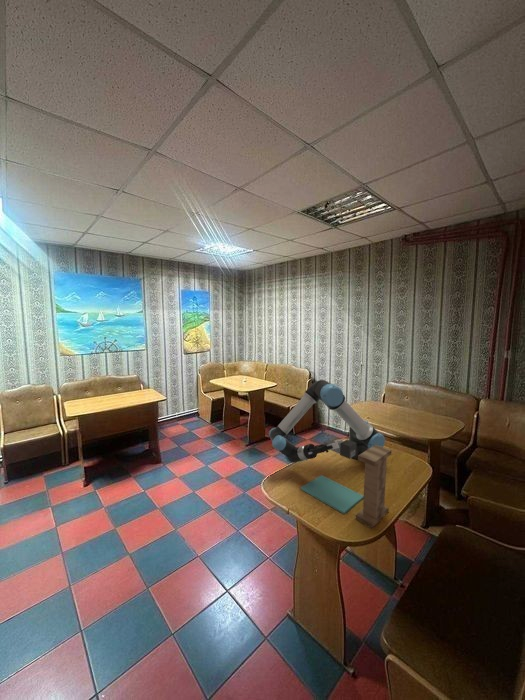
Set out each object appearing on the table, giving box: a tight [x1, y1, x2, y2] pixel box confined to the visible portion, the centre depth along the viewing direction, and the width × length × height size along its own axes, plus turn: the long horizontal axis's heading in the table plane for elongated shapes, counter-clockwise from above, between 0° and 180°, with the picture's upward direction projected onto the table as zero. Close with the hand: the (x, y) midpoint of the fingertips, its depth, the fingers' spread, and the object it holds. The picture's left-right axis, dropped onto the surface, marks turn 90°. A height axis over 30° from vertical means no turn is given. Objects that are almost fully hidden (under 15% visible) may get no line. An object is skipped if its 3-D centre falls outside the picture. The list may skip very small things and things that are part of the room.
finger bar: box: [323, 439, 357, 459], centre depth 141 cm, size 6×15×6 cm, turn 42°
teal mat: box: [300, 474, 364, 515], centre depth 147 cm, size 18×26×1 cm
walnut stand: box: [355, 445, 393, 529], centre depth 129 cm, size 16×8×30 cm, turn 132°
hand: (340, 443), depth 140 cm, fingers closed on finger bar, 4 cm apart
